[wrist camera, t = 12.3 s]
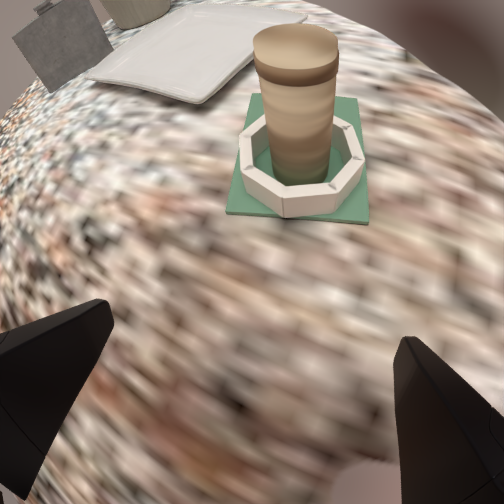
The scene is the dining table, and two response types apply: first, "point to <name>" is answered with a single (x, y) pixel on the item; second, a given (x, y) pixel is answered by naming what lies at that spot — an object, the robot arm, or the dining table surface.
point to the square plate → (190, 50)
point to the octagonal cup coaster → (302, 196)
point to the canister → (135, 11)
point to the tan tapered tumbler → (298, 98)
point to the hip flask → (63, 41)
